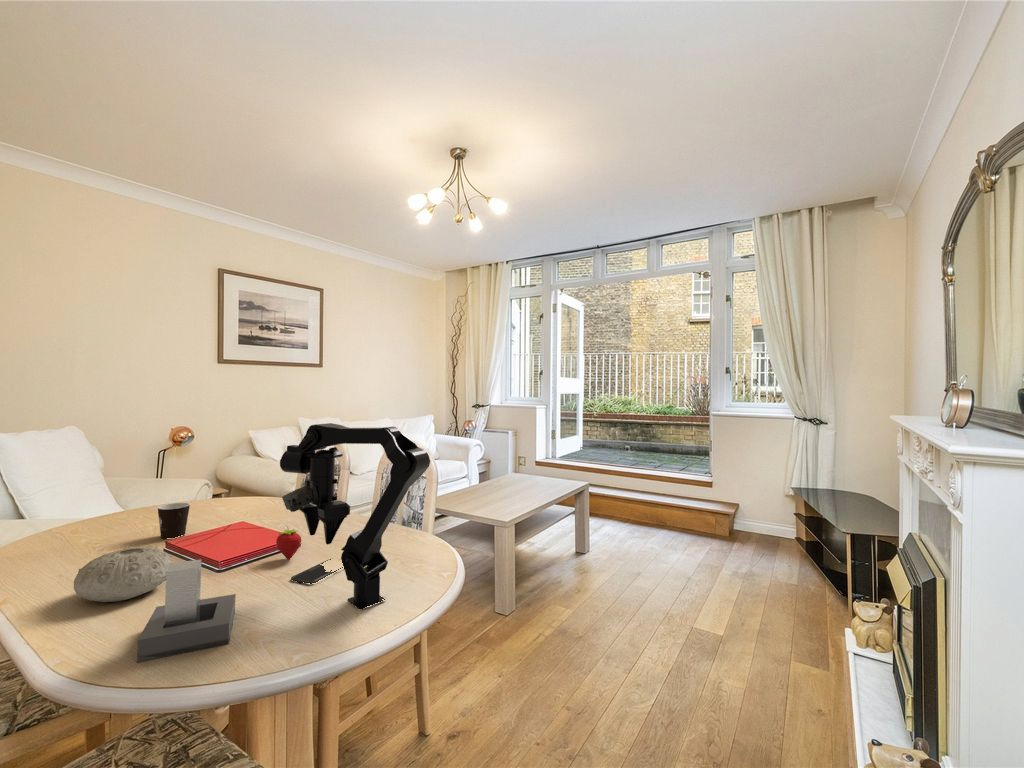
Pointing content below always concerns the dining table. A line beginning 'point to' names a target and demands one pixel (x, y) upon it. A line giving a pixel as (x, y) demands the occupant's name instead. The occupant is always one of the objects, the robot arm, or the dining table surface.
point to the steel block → (182, 593)
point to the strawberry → (288, 542)
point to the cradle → (188, 630)
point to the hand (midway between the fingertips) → (320, 539)
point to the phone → (312, 574)
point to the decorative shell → (122, 574)
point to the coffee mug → (173, 519)
